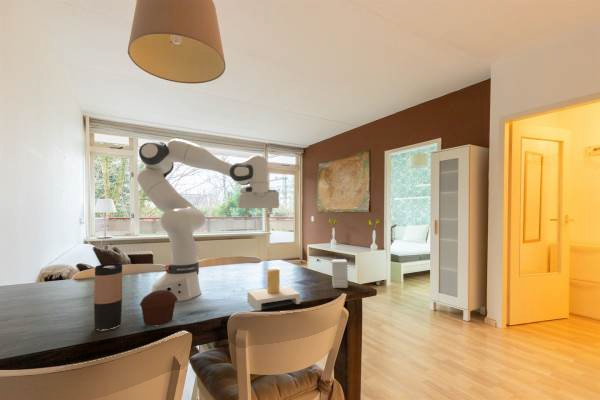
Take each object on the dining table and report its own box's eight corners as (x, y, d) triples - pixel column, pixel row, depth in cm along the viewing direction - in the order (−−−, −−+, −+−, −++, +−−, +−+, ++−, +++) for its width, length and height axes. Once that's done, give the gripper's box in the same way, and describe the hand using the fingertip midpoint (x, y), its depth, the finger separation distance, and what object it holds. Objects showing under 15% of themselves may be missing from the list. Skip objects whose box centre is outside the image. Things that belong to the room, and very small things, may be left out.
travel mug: (102, 322, 96) (103, 263, 97) (126, 321, 97) (127, 263, 97) (88, 332, 88) (89, 268, 89) (113, 331, 89) (114, 267, 90)
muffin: (136, 329, 90) (136, 298, 90) (142, 317, 100) (142, 289, 101) (177, 324, 94) (177, 294, 95) (178, 313, 105) (178, 285, 105)
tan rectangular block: (269, 294, 113) (269, 272, 113) (265, 291, 117) (265, 269, 117) (281, 293, 115) (281, 270, 115) (276, 290, 119) (276, 268, 120)
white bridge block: (257, 310, 106) (257, 300, 106) (247, 300, 118) (247, 291, 118) (300, 303, 114) (300, 293, 114) (287, 294, 126) (287, 285, 126)
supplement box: (346, 284, 143) (346, 259, 143) (347, 288, 136) (347, 261, 136) (332, 283, 144) (331, 258, 144) (332, 287, 136) (332, 261, 137)
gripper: (276, 190, 145) (276, 217, 145) (236, 189, 136) (236, 218, 136) (281, 189, 139) (281, 217, 139) (240, 188, 130) (240, 218, 130)
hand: (259, 217), depth 137 cm, fingers open, 8 cm apart
